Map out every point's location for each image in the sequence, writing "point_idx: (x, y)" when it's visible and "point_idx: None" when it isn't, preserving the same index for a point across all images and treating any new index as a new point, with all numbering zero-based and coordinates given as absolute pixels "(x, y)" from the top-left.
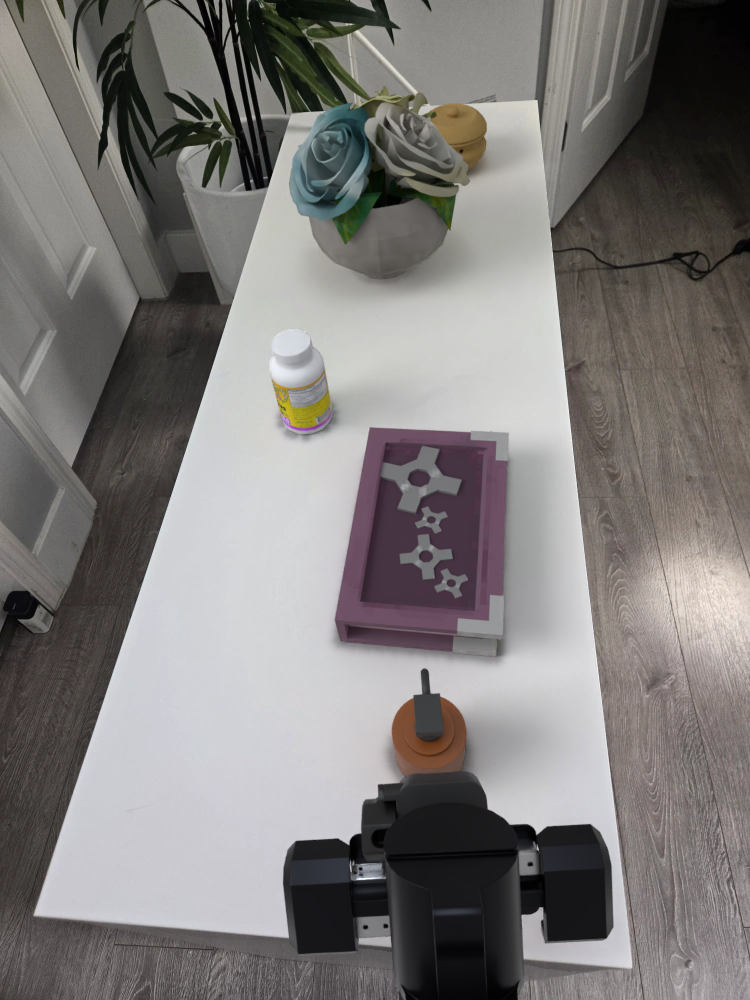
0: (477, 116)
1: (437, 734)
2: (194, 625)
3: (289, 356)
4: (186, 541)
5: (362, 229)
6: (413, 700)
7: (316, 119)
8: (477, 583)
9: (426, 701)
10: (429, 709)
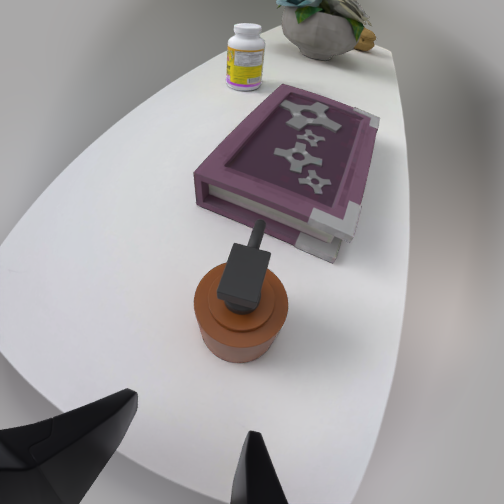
0: (372, 32)
1: (247, 304)
2: (102, 166)
3: (243, 28)
4: (130, 122)
5: (310, 19)
6: None
7: None
8: (339, 189)
9: (248, 256)
10: (248, 267)
